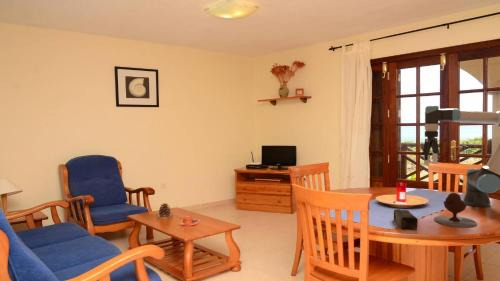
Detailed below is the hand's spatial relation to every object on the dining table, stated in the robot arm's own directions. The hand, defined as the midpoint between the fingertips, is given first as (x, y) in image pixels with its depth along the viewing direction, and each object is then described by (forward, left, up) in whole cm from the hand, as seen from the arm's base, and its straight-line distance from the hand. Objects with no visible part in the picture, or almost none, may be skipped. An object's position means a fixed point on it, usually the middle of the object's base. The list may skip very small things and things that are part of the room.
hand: (430, 164), depth 229 cm
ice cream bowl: (-6, +35, -26) cm, 44 cm away
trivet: (-6, +35, -27) cm, 44 cm away
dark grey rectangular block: (+20, +47, -27) cm, 58 cm away
